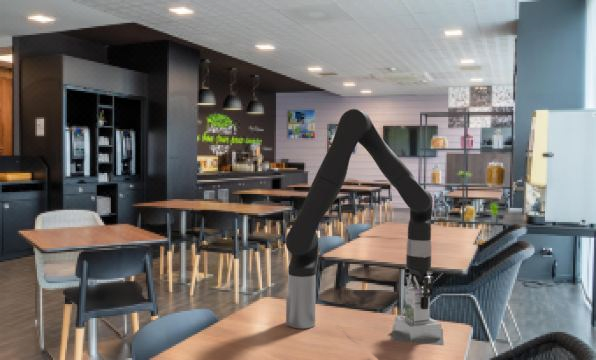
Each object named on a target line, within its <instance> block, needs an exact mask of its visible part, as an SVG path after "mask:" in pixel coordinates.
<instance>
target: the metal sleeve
mask: <svg viewBox="0 0 596 360" xmlns="http://www.w3.org/2000/svg"><path fill="white" fill-rule="evenodd" d="M394 325H395V331H396V332H398V333H399V334H400V335H402V336H403V337H405V338H406V339H407V340H409V341H420V340H430V339H441V329H442V323H441V322H439V321H437V320H435V319H433V318H431V317H430V319H429V324H419V325H411V324H410V323H408V322H407V321H405V315H398V316H397V315H396V316H394Z"/></svg>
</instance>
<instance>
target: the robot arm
mask: <svg viewBox="0 0 596 360" xmlns="http://www.w3.org/2000/svg"><path fill="white" fill-rule="evenodd" d="M358 143H359V144H360V145H361V146H362V147H363V148H364V149H365V150H366V151H367V153H368V154H369V155H370V157H371V158H372V159H373V161H374V162H375V164H376V166H377V167H378V168H379V171H381V173H382V174H383V176H384V177H385V178H386V179H387V181H388V182H389V183H390V184H391V186H392V187H394V189H396V190H397V192H398V193H399V196H400V197H401V198H402V200H403V201H404V203H405V204H406V206H407V207H408V208H409V209H410V210H409V221H408V225H407V242H406V257H405V259H406V261H405V268H404V272H403V273H404V274H403V275H404V276H403V286H404V287H405V288H406V287H412V286H416V287H417V289H418V290H419V291H420V294H421V309H428V298H429V297H434V276H429V275H428V271H430V270H431V269H432V225H431V224H432V215H433V214H432V212H433V201H434V200H433V196H432V194H431V193H430V191H428V190H427V189H424V188H423V187H422V186H421V185H420V183H418V181H417V180H416V179H415V176H414V174H413V173H412V171H411V170H410V169H409V167H408V166H406V164H404V162H403V161H402V160H401V159H400V157H399V156H397V154H396V153H395V152H394V151H393V150H392V149H391V148H390V146H389V145H388V144H387V143H386V142H385V140H384V139H383V137H382V136H381V134H380V133H379V131H378V130H377V128H376V127H375V125H374V123H373V121H372V120H371V118H370V116H369V114H367V113H366V112H365V111H363V110H361V109H358V108H351V109H348V110H347V111H345V112H344V113H343V114H342V115H341V116H340V118H339V121H338V124H337V127H336V130H335V133H334V135H333V139H332V141H331V144H330V146H329V149H328V151H327V152H326V154H325V156H324V158H323V160H322V162H321V163H320V166H319V167H318V170H317V172H316V175H315V176H314V178H313V181H312V182H311V186H310V188H309V190H308V192H307V195H306V196H305V200H304V202H303V205H302V207H301V210H300V212H299V213H298V215H297V217H296V219H295V221H294V223H293V224H292V225H291V228H290V229H289V230H288V232H287V235H286V236H285V237H286V238H285V247H286V250H287V251H288V252H289V253H290V254H291V258H290V261H289V265H288V267H287V272H288V273H287V280H288V281H287V296H286V299H285V303H286V305H285V306H286V307H285V327H291V328H293V329H303V330H304V329H310V328H313V327H315V326H316V282H317V281H316V279H317V277H316V276H317V275H316V274H317V273H316V272H317V267H318V266H317V265H318V260H319V259H318V258H319V257H318V256H319V238H318V237H319V236H318V234H317V230H318V227H319V225H320V223H321V221H322V219H323V218H324V216H325V215H326V213H327V212H328V211H329V210H330V208H331V207H332V205H333V204H334V202H335V201H336V199H337V197H338V196H339V194H340V192H341V190H342V188H343V185H344V183H345V180H346V177H347V173H348V169H349V163H350V160H351V156H352V154H353V152H354V150H355V148H356V146H357V145H358ZM423 290H424V292H423ZM429 291H430V292H429Z"/></svg>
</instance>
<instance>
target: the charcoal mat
mask: <svg viewBox="0 0 596 360" xmlns="http://www.w3.org/2000/svg"><path fill="white" fill-rule="evenodd" d="M389 341H392V342H400V343H401V342H403V343H413V344H414V343H415V344H422V345H423V344H425V345H432V346H433V345H434V346H435V345H436V346H444V345H445V344H444V343H445V342H444V329H443V328H441V339H430V340H420V341H409V340H407V339H406V338H405V337H403V336H402V335H400V334H399V333H398V332H396V331H395V324H393V326H392V330H391V335H390V340H389Z"/></svg>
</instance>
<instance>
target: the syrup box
mask: <svg viewBox="0 0 596 360" xmlns="http://www.w3.org/2000/svg"><path fill="white" fill-rule="evenodd" d="M404 290H405V291H404V292H405V294H404V295H405V304H404V305H405V306H404V316H405V321H407V322H408V323H410V324H411V325H419V324H429V319H430V318H431V316H430V313H431V312H430V306H431V305H430V303H431V302H430V300H431V299H430V297H431V296H430V297H429V298H428V309H421V294H420V291H419V290H418V289H417V287H416V286H412V287H406V286H405V289H404ZM423 292H424V290H423ZM429 292H430V290H429Z"/></svg>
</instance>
